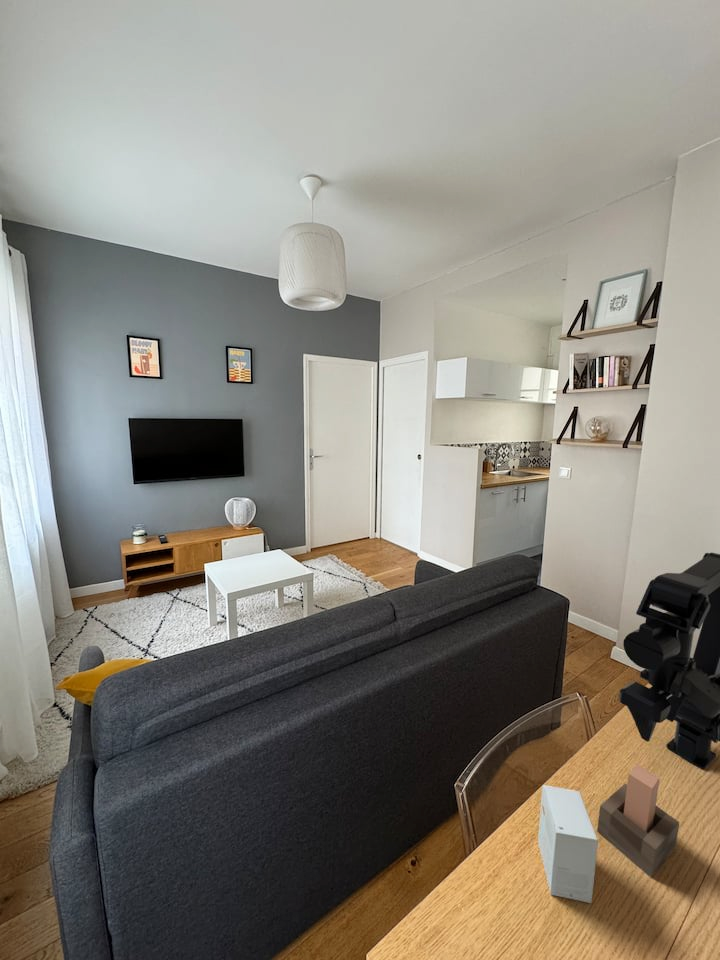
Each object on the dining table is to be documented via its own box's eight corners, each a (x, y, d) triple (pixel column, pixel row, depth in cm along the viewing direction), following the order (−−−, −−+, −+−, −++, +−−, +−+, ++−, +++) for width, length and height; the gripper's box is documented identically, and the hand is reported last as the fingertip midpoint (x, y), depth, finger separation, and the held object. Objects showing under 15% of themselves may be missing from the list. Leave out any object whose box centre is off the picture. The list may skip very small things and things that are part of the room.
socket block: (621, 808, 71) (625, 783, 71) (675, 849, 65) (679, 822, 64) (597, 831, 67) (600, 805, 66) (651, 877, 60) (655, 849, 60)
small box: (592, 905, 57) (599, 842, 55) (549, 895, 58) (555, 833, 56) (574, 847, 65) (580, 790, 63) (536, 839, 66) (542, 783, 64)
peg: (628, 821, 68) (636, 763, 66) (651, 837, 65) (659, 777, 64) (621, 832, 66) (628, 773, 64) (643, 849, 64) (652, 788, 62)
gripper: (704, 694, 58) (689, 788, 61) (750, 657, 68) (735, 739, 70) (622, 656, 68) (612, 738, 70) (672, 627, 77) (662, 701, 80)
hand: (657, 729), depth 72 cm, fingers open, 9 cm apart
